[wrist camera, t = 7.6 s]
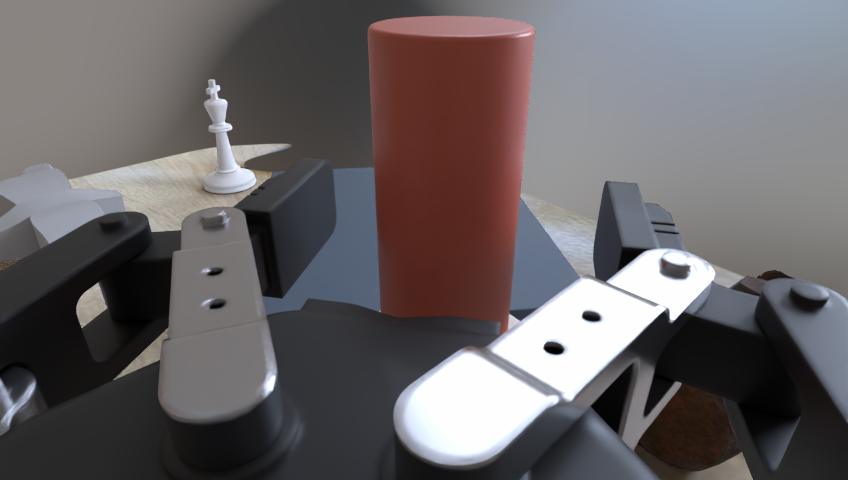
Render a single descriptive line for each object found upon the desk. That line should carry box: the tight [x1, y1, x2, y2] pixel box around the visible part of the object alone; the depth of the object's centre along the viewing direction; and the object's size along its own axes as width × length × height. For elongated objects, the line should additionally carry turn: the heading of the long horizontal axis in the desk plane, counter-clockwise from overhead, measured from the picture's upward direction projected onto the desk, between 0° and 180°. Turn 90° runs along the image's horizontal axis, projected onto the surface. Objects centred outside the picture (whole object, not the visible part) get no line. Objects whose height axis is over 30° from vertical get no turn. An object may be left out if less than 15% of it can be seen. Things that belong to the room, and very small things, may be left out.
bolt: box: [639, 270, 794, 471], centre depth 28 cm, size 6×5×15 cm
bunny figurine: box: [0, 163, 126, 262], centre depth 42 cm, size 10×5×15 cm
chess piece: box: [203, 79, 256, 194], centre depth 51 cm, size 5×5×10 cm
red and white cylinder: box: [368, 16, 535, 336], centre depth 14 cm, size 5×5×17 cm
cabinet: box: [262, 167, 580, 321], centre depth 28 cm, size 16×14×9 cm
